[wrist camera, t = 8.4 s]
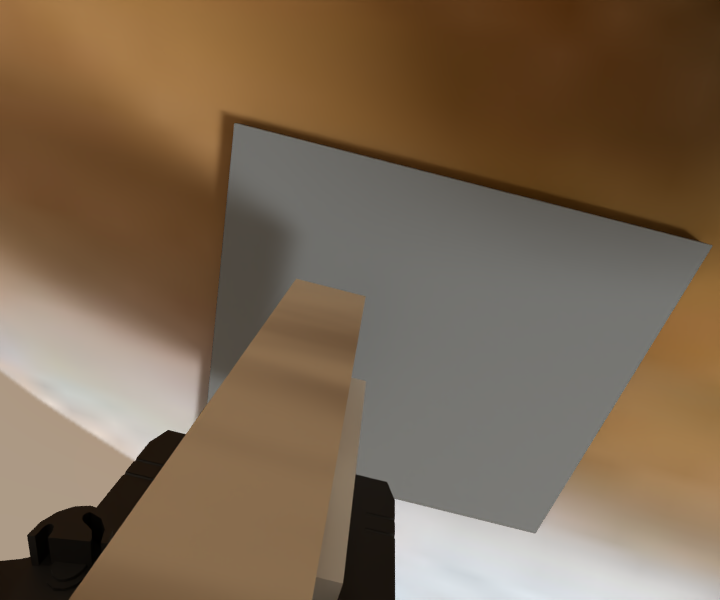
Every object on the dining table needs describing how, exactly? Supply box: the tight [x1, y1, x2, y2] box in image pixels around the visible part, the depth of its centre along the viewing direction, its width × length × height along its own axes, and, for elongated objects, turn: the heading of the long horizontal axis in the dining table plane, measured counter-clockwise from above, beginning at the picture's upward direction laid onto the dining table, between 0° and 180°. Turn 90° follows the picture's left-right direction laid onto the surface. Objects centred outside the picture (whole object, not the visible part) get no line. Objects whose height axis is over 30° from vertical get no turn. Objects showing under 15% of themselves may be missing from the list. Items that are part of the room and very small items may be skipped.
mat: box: [207, 123, 712, 533], centre depth 17 cm, size 16×18×1 cm
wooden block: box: [69, 279, 366, 600], centre depth 10 cm, size 8×2×10 cm, turn 166°
